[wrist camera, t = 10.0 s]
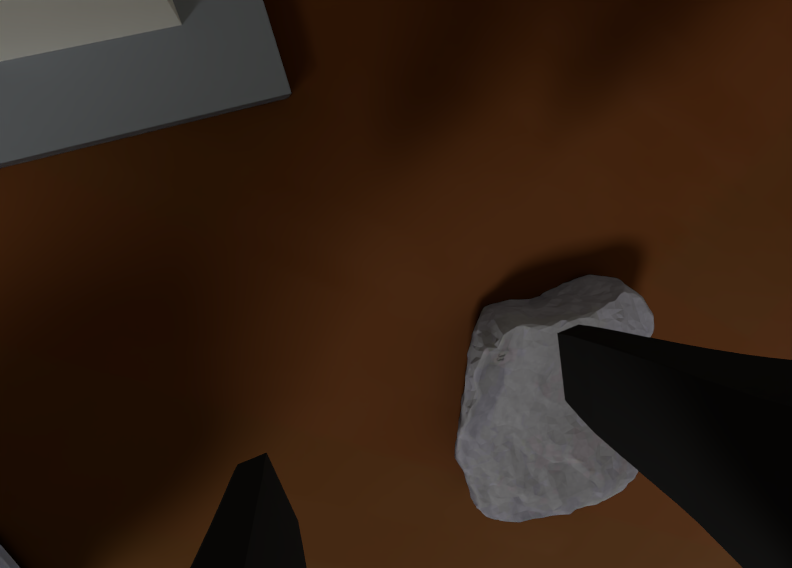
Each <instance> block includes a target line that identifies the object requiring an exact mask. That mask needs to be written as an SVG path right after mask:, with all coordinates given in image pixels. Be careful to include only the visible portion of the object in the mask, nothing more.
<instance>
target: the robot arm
mask: <svg viewBox="0 0 792 568" xmlns="http://www.w3.org/2000/svg"><path fill="white" fill-rule="evenodd" d="M557 335H558V344H559V352H560V361H561V370H562V379H563V387H564V396H565V401H566V402H567V403H568V404H569V406H570V407H571V408H572V409H573V410H574V411H575V412H576V414H577V415H578V416H579V417H580V418H581V419H582V420H583V421H584V422H585V423H586V424H587V426H588V427H589V428H590V429H591V430H592V431H593V432H594V433H595V434H596V435H597V436H599V437H600V438H601V439H602V440H603V441H604V442H605V443H606V444H608V445H609V446H610V447H611V448H612V449H613V450H615V451H616V452H617V453H618V454H619V455H620V456H622V457H623V458H624V459H625V460H626V461H627V462H629V463H630V464H631V465H632V466H633V467H635V468H636V469H637V470H638V471H639V472H640V473H642V474H643V475H644V476H645V477H646V478H647V479H649V480H650V481H651V482H652V483H653V484H655V485H656V486H657V487H658V488H659V489H660V490H662V491H663V492H664V493H665V494H666V495H668V496H669V497H670V498H671V499H672V500H673V501H675V502H676V503H677V504H678V505H679V506H680V507H681V508H683V509H684V510H685V511H686V512H687V513H688V514H689V515H690V516H691V517H692V518H694V519H695V520H696V521H697V522H698V523H699V524H700V525H701V526H702V527H703V528H704V529H705V530H706V531H707V532H708V533H709V534H710V535H711V536H712V537H713V538H714V539H715V540H716V541H717V542H718V543H719V544H720V545H721V546H722V547H723V548H724V549H725V550H726V551H727V552H728V553H729V554H730V555H731V556H732V557H733V558H734V559H735V560H736V561H737V562H738V563H739V564H740V565H741V566H742V567H743V568H792V360H787V359H778V358H768V357H760V356H753V355H746V354H739V353H733V352H726V351H720V350H714V349H708V348H702V347H696V346H691V345H685V344H680V343H675V342H670V341H665V340H660V339H655V338H650V337H645V336H640V335H635V334H630V333H625V332H620V331H615V330H610V329H605V328H600V327H594V326H587V325H579V324H578V325H576V326H573V327H571V328H568V329H566V330H564V331H561V332H559V333H557ZM0 568H20V567H19V566H18V565H17V563H16V562H15V561H14V560H13V559H12V557H11V556H10V555H9V554H8V553H7V552H6V550H5V549H4V548H3V547H2V546H1V545H0ZM190 568H306V562H305V556H304V551H303V545H302V540H301V534H300V529H299V524H298V520H297V518H296V516H295V513H294V511H293V509H292V507H291V505H290V503H289V500H288V498H287V496H286V494H285V492H284V490H283V487H282V485H281V483H280V481H279V479H278V477H277V474H276V472H275V470H274V468H273V466H272V464H271V461H270V459H269V457H268V455H267V453H265V454H262V455H260V456H257V457H255V458H252V459H250V460H248V461H245V462H243V463H240V464H238V465H237V467H236V469H235V470H234V473H233V475H232V477H231V479H230V482H229V484H228V486H227V489H226V491H225V493H224V496H223V498H222V500H221V502H220V505H219V507H218V509H217V511H216V514H215V516H214V518H213V520H212V523H211V525H210V527H209V529H208V531H207V534H206V536H205V538H204V540H203V542H202V544H201V546H200V548H199V550H198V553H197V555H196V557H195V559H194V561H193V563H192V565H191V567H190Z"/></svg>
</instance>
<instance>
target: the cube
mask: <svg viewBox="0 0 792 568" xmlns="http://www.w3.org/2000/svg"><path fill="white" fill-rule="evenodd" d="M179 25H182V24H181V21H180V19H179V16H178V13H177V11H176V8H175V5H174V3H173V0H0V62H1V61H5V60H10V59H15V58H20V57H25V56H30V55H35V54H40V53H45V52H50V51H55V50H60V49H65V48H70V47H75V46H80V45H85V44H90V43H95V42H100V41H105V40H110V39H115V38H120V37H125V36H130V35H135V34H139V33H144V32H149V31H154V30H159V29H164V28H169V27H174V26H179Z"/></svg>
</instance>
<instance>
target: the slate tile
mask: <svg viewBox="0 0 792 568" xmlns="http://www.w3.org/2000/svg"><path fill="white" fill-rule="evenodd" d="M173 3H174V5H175V8H176V11H177V13H178V16H179V19H180V21H181V24H182V25H179V26H174V27H169V28H164V29H159V30H154V31H149V32H144V33H139V34H135V35H130V36H125V37H120V38H115V39H110V40H105V41H100V42H95V43H90V44H85V45H80V46H75V47H70V48H65V49H60V50H55V51H50V52H45V53H40V54H35V55H30V56H25V57H20V58H15V59H10V60H5V61H1V62H0V168H3V167H7V166H11V165H15V164H19V163H24V162H28V161H32V160H36V159H40V158H44V157H48V156H52V155H56V154H61V153H65V152H69V151H73V150H77V149H81V148H85V147H89V146H93V145H97V144H102V143H106V142H110V141H114V140H118V139H122V138H126V137H130V136H134V135H139V134H143V133H147V132H151V131H155V130H159V129H163V128H167V127H171V126H175V125H180V124H184V123H188V122H192V121H196V120H200V119H204V118H208V117H212V116H217V115H221V114H225V113H229V112H233V111H237V110H241V109H245V108H249V107H253V106H258V105H262V104H266V103H270V102H274V101H278V100H282V99H286V98H289V96H290V95H291V90H290V87H289V83H288V80H287V77H286V74H285V70H284V67H283V64H282V61H281V57H280V54H279V51H278V48H277V44H276V41H275V38H274V35H273V31H272V28H271V25H270V22H269V18H268V15H267V12H266V9H265V5H264V2H263V0H173Z"/></svg>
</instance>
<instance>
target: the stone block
mask: <svg viewBox="0 0 792 568" xmlns="http://www.w3.org/2000/svg"><path fill="white" fill-rule="evenodd" d="M578 324H579V325H587V326H594V327H600V328H605V329H610V330H615V331H620V332H625V333H630V334H635V335H640V336H645V337H650V336H651V335H652V333H653V329H654V318H653V313H652V312H651V310H650V309H649V307H648V306H647V304H646V302H645V300H644V299H643V297H642V296H641V295H639V294H638V293H637V292H636V291H634V290H633V289H631V288H630V287H628V286H627V285H625V284H624V283H623V282H622V281H621V280H619V279H618V278H613V277H606V276H597V275H586V276H583V277H579V278H576V279H574V280H572V281H570V282H566V283H563V284H561V285H559V286H558V287H556V288H553V289H550V290H548V291H546V292H544V293H543V294H542V295H541V296H539V297H535V298H532V299H522V300H513V299H510V300H506V301H503V302H499V303H494V304H490V305H488V306H486V307H484V308H483V310H482V311H481V314H480V316H479V319H478V321H477V324H476V326H475V328H474V331H473V334H472V339H471V344H470V347H469V350H468V353H467V357H468V362H467V369H466V374H465V391H464V393H463V394H462V400H461V413H460V417H459V425H458V432H457V439H456V443H455V459H456V460H457V462H458V463H459V465H460V466H461V468H462V469H463V471H464V474H465V478H466V482H467V485H468V487H469V490H470V497H471V499H472V500H473V502H474V504H475V505H476V507H477V508H478V509H479V510H481V511H482V513H483V514H484V515H485V516H487V517H489V518H492V519H495V520H496V519H499V520H500V521H509V522H522V521H526V520H530V519H533V518H543V517H547V516H551V515H562V514H570V513H572V512H573V511H574V510H575V509H578V508H582V507H584V506H588V505H596V504H598V503H600V502H601V501H604V500H606V499H608V498H610V497H612V496H613V495H615V494H617V493H619V492H621V491H622V490H623V489H624V488H625V487H626V486H627V484H628V483H629V482H631V481H632V480H633V479H634V478H635V476H636V474H637V473H638V470H637V469H636V468H635V467H633V466H632V465H631V464H630V463H629V462H627V461H626V460H625V459H624V458H623V457H622V456H620V455H619V454H618V453H617V452H616V451H615V450H613V449H612V448H611V447H610V446H609V445H608V444H606V443H605V442H604V441H603V440H602V439H601V438H600V437H599V436H597V435H596V434H595V433H594V432H593V431H592V430H591V429H590V428H589V427H588V426H587V424H586V423H585V422H584V421H583V420H582V419H581V418H580V417H579V416H578V415H577V414H576V412H575V411H574V410H573V409H572V408H571V407H570V406H569V404H568V403H567V402H566V401H565V396H564V387H563V379H562V370H561V361H560V352H559V344H558V335H557V333H559V332H561V331H564V330H566V329H568V328H571V327H573V326H576V325H578Z"/></svg>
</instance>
